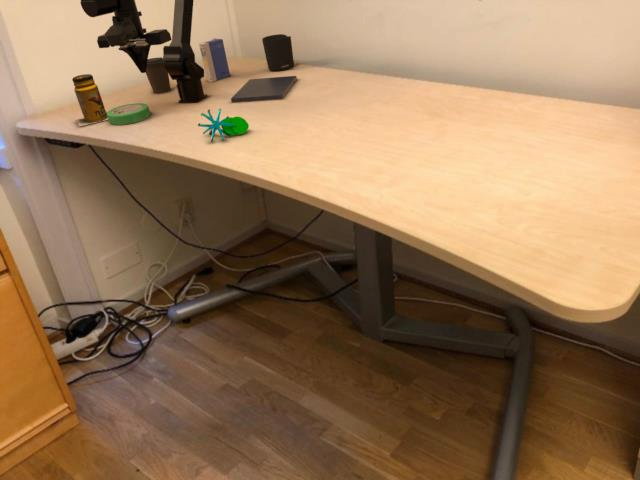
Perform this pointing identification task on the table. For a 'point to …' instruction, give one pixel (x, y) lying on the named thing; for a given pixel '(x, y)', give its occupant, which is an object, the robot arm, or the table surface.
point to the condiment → (89, 100)
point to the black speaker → (278, 52)
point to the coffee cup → (157, 75)
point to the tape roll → (128, 114)
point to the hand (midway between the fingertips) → (143, 72)
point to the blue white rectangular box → (214, 59)
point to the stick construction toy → (225, 125)
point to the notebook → (264, 89)
